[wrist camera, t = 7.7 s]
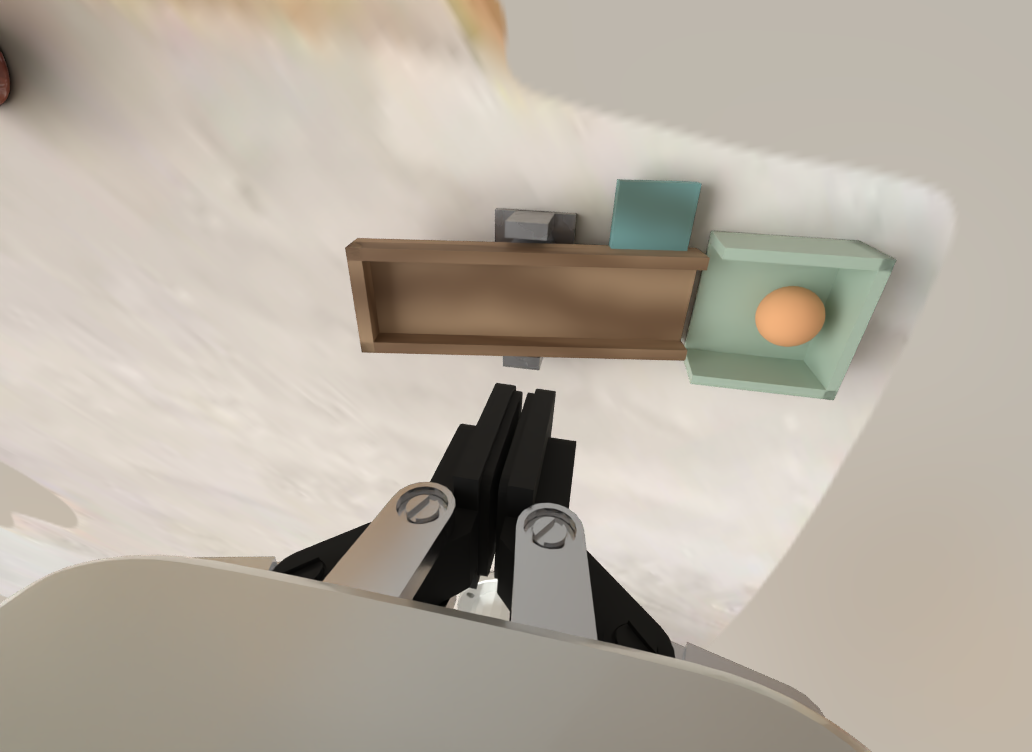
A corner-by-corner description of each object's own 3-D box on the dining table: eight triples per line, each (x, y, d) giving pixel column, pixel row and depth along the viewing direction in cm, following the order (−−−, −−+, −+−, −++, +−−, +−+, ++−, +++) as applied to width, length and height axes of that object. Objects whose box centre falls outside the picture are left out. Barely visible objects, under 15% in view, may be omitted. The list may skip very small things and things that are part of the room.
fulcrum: (564, 348, 32) (559, 372, 29) (495, 341, 33) (483, 364, 30) (576, 213, 28) (571, 225, 25) (496, 208, 29) (482, 219, 26)
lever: (674, 344, 30) (685, 360, 28) (371, 337, 30) (361, 352, 28) (710, 182, 25) (726, 187, 23) (347, 171, 25) (333, 176, 23)
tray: (808, 367, 30) (833, 400, 26) (682, 354, 31) (690, 383, 28) (859, 240, 26) (896, 259, 22) (711, 230, 27) (725, 247, 23)
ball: (745, 327, 29) (806, 337, 28) (750, 350, 26) (818, 361, 25) (762, 274, 28) (827, 282, 27) (768, 293, 25) (842, 302, 24)
